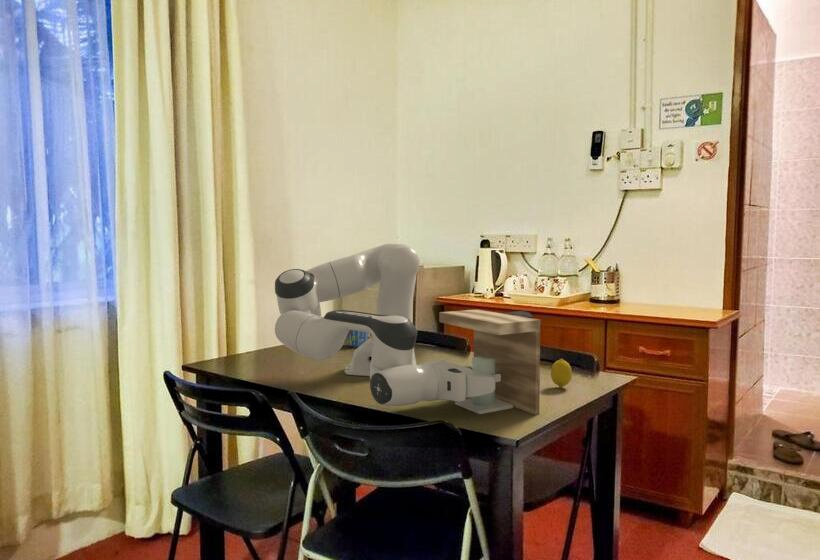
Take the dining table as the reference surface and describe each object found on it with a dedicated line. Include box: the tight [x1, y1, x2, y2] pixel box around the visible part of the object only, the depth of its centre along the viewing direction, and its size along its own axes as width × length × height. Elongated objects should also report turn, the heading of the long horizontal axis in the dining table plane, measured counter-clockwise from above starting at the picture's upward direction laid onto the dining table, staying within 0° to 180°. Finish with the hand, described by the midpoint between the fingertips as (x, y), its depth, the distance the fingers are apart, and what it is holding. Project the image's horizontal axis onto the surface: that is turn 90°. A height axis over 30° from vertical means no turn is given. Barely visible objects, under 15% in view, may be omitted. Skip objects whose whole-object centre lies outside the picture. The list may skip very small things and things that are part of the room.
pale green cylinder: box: [471, 356, 495, 406], centre depth 148 cm, size 6×6×11 cm
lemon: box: [550, 358, 573, 389], centre depth 165 cm, size 6×6×8 cm
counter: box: [438, 308, 541, 416], centre depth 148 cm, size 12×24×22 cm, turn 30°
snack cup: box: [345, 330, 370, 348], centre depth 230 cm, size 16×10×10 cm
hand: (486, 373), depth 148 cm, fingers open, 8 cm apart
